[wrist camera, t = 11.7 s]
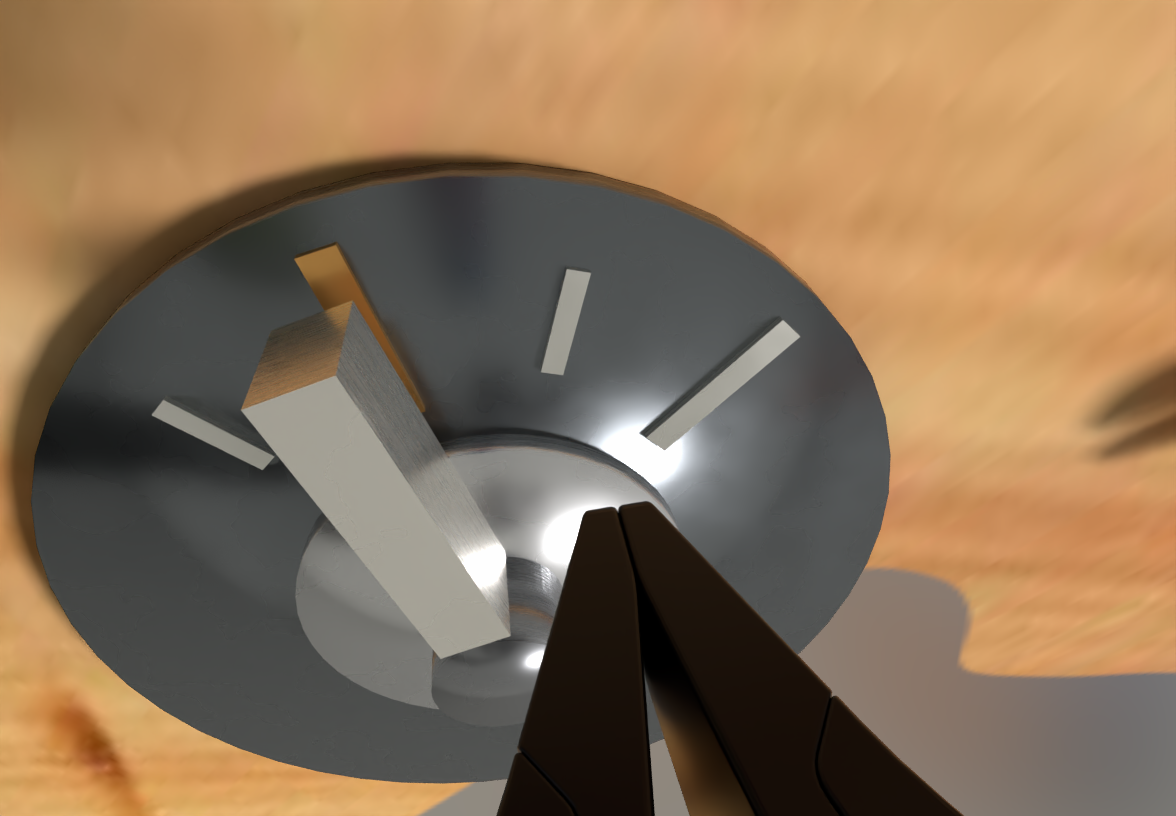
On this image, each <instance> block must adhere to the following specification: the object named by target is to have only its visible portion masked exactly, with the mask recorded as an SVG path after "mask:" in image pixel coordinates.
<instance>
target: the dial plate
mask: <svg viewBox="0 0 1176 816" xmlns="http://www.w3.org/2000/svg"><path fill="white" fill-rule="evenodd" d="M352 300H353V301H354V303H355V305H356V306H357V308H358V310H359V311H360V313H361V314H362V316H363V318H364V319H365V321H366V323H367V324H368V326H369V328H370V329H371V331H372V333H373V334H374V336H375V338H376V339H377V341H378V343H379V344H380V346H381V347H382V349H383V351H384V352H385V354H386V356H387V357H388V359H389V361H390V362H391V364H392V366H393V367H394V369H395V371H396V372H397V374H398V375H399V377H400V379H401V380H402V382H403V384H404V385H405V387H406V389H407V390H408V392H409V394H410V395H411V397H412V399H413V400H414V402H415V403H416V405H417V407H418V408H419V410H420V412H421V413H422V415H423V417H424V418H425V420H426V422H427V423H428V425H429V427H430V428H431V430H432V431H433V433H434V435H435V436H436V438H437V440H438V441H439V442H441V441H446V440H452V439H457V438H463V437H468V436H479V435H491V434H525V435H535V436H543V437H551V438H557V439H561V440H565V441H569V442H574V443H578V444H582V445H584V446H587V447H590V448H592V449H595V450H598V451H601V452H603V453H606V454H607V455H609V456H611V457H613V458H615V459H617V460H619V461H621V462H623V463H625V464H626V465H628V466H629V467H631V468H632V469H633V470H635V471H636V472H638V473H639V474H640V475H642V476H643V477H644V478H645V479H646V480H647V481H648V482H649V483H650V484H651V485H652V486H654V487H655V488H656V489H657V490H658V492H659V493H660V494H661V496H662V497H663V498H664V500H665V501H666V503H667V504H668V505H669V507H670V509H671V511H672V513H673V515H674V517H675V520H676V522H677V525H678V528H679V531H680V533H681V534H682V535H683V536H684V537H685V538H686V539H687V540H688V541H689V542H690V543H691V544H692V545H693V546H694V547H695V548H696V549H697V550H698V551H699V552H700V553H701V555H702V556H703V557H704V558H705V559H706V560H707V561H708V562H709V563H710V564H711V565H712V566H713V567H714V568H715V569H716V570H717V571H718V572H719V573H720V574H721V575H722V576H723V578H724V579H725V580H726V581H727V582H728V583H729V584H730V585H731V586H732V587H733V588H734V589H735V590H736V591H737V592H738V593H739V594H740V595H741V596H742V597H743V598H744V599H745V600H746V602H747V603H748V604H749V605H750V606H751V607H752V608H753V609H754V610H755V611H756V612H757V613H758V614H759V615H760V616H761V617H762V618H763V619H764V620H765V621H766V622H767V623H768V625H769V626H770V627H771V628H772V629H773V630H774V631H775V632H776V633H777V634H778V635H779V636H780V637H781V638H782V639H783V640H784V641H785V642H786V643H787V644H788V645H789V646H790V647H791V649H792V650H793V651H794V652H795V653H796V654H797V655H798V654H799V653H800V652H801V651H802V650H803V649H804V648H805V647H806V646H807V645H808V644H809V643H810V642H811V641H812V639H814V638H815V636H816V635H817V634H818V633H819V632H820V631H821V630H822V629H823V628H824V627H825V626H826V625H827V624H828V622H829V621H830V620H831V618H832V617H833V615H834V614H835V613H836V611H837V610H838V609H839V607H840V606H841V605H842V603H843V602H844V601H845V599H846V598H847V597H848V595H849V594H850V592H851V590H852V589H853V587H854V585H855V583H856V582H857V580H858V578H859V576H860V575H861V573H862V571H863V569H864V568H865V566H866V564H867V562H868V559H869V557H870V554H871V552H872V549H873V547H874V544H875V542H876V539H877V537H878V534H879V532H880V529H881V524H882V520H883V516H884V511H885V507H886V502H887V498H888V493H889V475H890V448H889V440H888V433H887V425H886V417H885V414H884V411H883V408H882V405H881V402H880V398H879V395H878V392H877V389H876V386H875V383H874V380H873V377H872V375H871V373H870V372H869V370H868V368H867V366H866V364H865V363H864V361H863V359H862V357H861V355H860V354H859V352H858V350H857V348H856V346H855V345H854V343H853V341H852V339H851V337H850V336H849V335H848V333H847V332H846V331H845V330H844V328H843V327H842V326H841V325H840V323H839V322H838V321H837V320H836V318H835V317H834V316H833V315H832V314H831V312H830V311H829V310H828V309H827V307H826V306H825V305H824V304H823V303H822V301H821V300H820V299H819V298H818V297H817V295H816V294H815V293H814V292H813V290H812V289H811V288H810V287H809V286H808V284H807V283H806V282H805V281H804V280H803V279H802V278H801V277H799V276H798V275H797V274H796V273H795V272H794V271H792V270H791V269H790V268H789V267H788V266H787V265H786V264H784V263H783V262H782V261H781V260H780V259H779V258H777V257H776V256H775V255H774V254H773V253H772V252H771V251H769V250H768V249H767V248H766V247H765V246H763V245H761V244H760V243H758V242H757V241H755V240H753V239H752V238H750V237H749V236H747V235H745V234H744V233H742V232H741V231H739V230H737V229H736V228H734V227H732V226H731V225H729V224H728V223H726V222H724V221H723V220H721V219H720V218H718V217H716V216H714V215H712V214H710V213H707V212H705V211H703V210H700V209H698V208H696V207H693V206H691V205H689V204H687V203H684V202H682V201H680V200H677V199H675V198H673V197H670V196H668V195H666V194H663V193H661V192H659V191H656V190H652V189H648V188H645V187H641V186H637V185H634V184H630V183H626V182H623V181H619V180H616V179H612V178H608V177H605V176H601V175H597V174H594V173H588V172H580V171H573V170H565V169H558V168H551V167H543V166H536V165H528V164H505V163H446V164H438V165H430V166H422V167H414V168H406V169H398V170H390V171H382V172H374V173H370V174H366V175H362V176H358V177H355V178H351V179H347V180H343V181H339V182H336V183H332V184H328V185H324V186H320V187H317V188H313V189H309V190H305V191H301V192H299V193H297V194H294V195H292V196H289V197H287V198H285V199H282V200H280V201H277V202H275V203H273V204H270V205H268V206H265V207H263V208H261V209H258V210H256V211H253V212H251V213H249V214H246V215H244V216H241V217H239V218H237V219H235V220H233V221H231V222H230V223H228V224H226V225H225V226H223V227H221V228H220V229H218V230H216V231H215V232H213V233H211V234H210V235H208V236H206V237H205V238H203V239H201V240H200V241H198V242H196V243H195V244H193V245H191V246H190V247H188V248H186V249H185V250H183V251H181V252H180V253H178V254H177V255H176V256H174V257H173V258H172V259H171V260H170V261H168V262H167V263H166V264H165V265H164V266H163V267H161V268H160V269H159V270H158V271H157V272H155V273H154V274H153V275H152V276H151V277H150V278H148V279H147V280H146V281H145V282H144V283H142V284H141V285H140V286H139V287H138V288H136V289H135V290H134V291H133V292H132V293H131V294H129V296H128V297H127V298H126V299H125V300H124V302H123V303H122V304H121V305H120V306H119V308H118V309H117V310H116V311H115V312H114V313H113V315H112V316H111V317H110V318H109V319H108V321H107V322H106V323H105V324H104V325H103V327H102V328H101V329H100V330H99V331H98V333H97V334H96V335H95V336H94V337H93V339H92V340H91V341H90V343H89V344H88V345H87V347H86V348H85V349H84V351H83V352H82V353H81V355H80V356H79V358H78V359H77V360H76V362H75V364H74V366H73V367H72V369H71V371H70V373H69V375H68V376H67V378H66V380H65V382H64V384H63V385H62V387H61V389H60V391H59V393H58V394H57V396H56V398H55V400H54V402H53V403H52V405H51V407H50V409H49V413H48V416H47V419H46V422H45V426H44V429H43V432H42V435H41V438H40V442H39V445H38V448H37V451H36V455H35V463H34V474H33V486H32V497H31V505H32V513H33V521H34V529H35V537H36V545H37V548H38V551H39V554H40V557H41V560H42V563H43V566H44V569H45V572H46V575H47V578H48V581H49V584H50V587H51V588H52V590H53V592H54V594H55V596H56V597H57V599H58V601H59V603H60V604H61V606H62V608H63V610H64V612H65V613H66V615H67V617H68V619H69V621H70V622H71V624H72V625H73V626H74V628H75V629H76V630H77V631H78V633H79V634H80V635H81V636H82V638H83V639H84V640H85V641H86V643H87V644H88V645H89V646H90V648H91V649H92V650H93V651H94V653H95V654H96V655H97V656H98V657H99V658H100V659H101V660H102V661H103V662H104V663H105V664H106V665H107V666H108V667H109V668H110V669H111V670H113V671H114V672H115V673H116V674H117V675H118V676H119V677H120V678H121V679H122V680H123V681H124V682H125V683H126V684H128V685H129V686H130V687H131V688H133V689H134V690H136V691H137V692H138V693H140V694H141V695H142V696H144V697H145V698H147V699H148V700H149V701H151V702H152V703H154V704H155V705H156V706H158V707H159V708H160V709H162V710H163V711H165V712H167V713H169V714H170V715H172V716H174V717H176V718H178V719H179V720H181V721H183V722H185V723H186V724H188V725H190V726H192V727H193V728H195V729H197V730H199V731H201V732H203V733H205V734H208V735H210V736H212V737H214V738H217V739H219V740H221V741H223V742H226V743H228V744H230V745H233V746H235V747H237V748H240V749H243V750H246V751H249V752H252V753H255V754H257V755H260V756H263V757H266V758H269V759H272V760H275V761H278V762H282V763H286V764H290V765H294V766H298V767H303V768H307V769H311V770H315V771H319V772H324V773H330V774H336V775H342V776H348V777H354V778H360V779H371V780H382V781H392V782H407V783H462V782H484V781H493V780H502V779H508V776H509V773H510V769H511V766H512V762H513V759H514V756H515V754H516V753H518V750H517V746H518V742H519V739H520V735H521V732H522V728H523V725H524V723H519V724H514V725H507V726H478V725H472V724H468V723H464V722H461V721H458V720H456V719H453V718H452V717H450V716H448V715H446V714H445V713H444V712H442V711H441V710H440V709H433V708H427V707H422V706H417V705H411V704H408V703H404V702H401V701H397V700H393V699H390V698H388V697H385V696H382V695H380V694H377V693H375V692H372V691H370V690H368V689H366V688H364V687H362V686H360V685H358V684H356V683H354V682H353V681H351V680H350V679H348V678H347V677H345V676H344V675H342V674H341V673H339V672H338V671H337V670H336V669H334V668H333V667H332V666H331V665H330V664H329V663H328V662H327V661H325V660H324V659H323V658H322V656H321V655H320V654H319V653H318V652H317V650H316V649H315V648H314V647H313V646H312V644H311V642H310V641H309V639H308V637H307V635H306V634H305V632H304V630H303V628H302V625H301V622H300V619H299V616H298V613H297V605H296V597H295V594H296V582H297V575H298V570H299V566H300V561H301V557H302V553H303V550H304V546H305V543H306V539H307V537H308V535H309V533H310V532H311V530H312V528H313V526H314V524H315V522H316V520H317V519H318V518H319V516H320V515H321V514H322V510H321V509H320V508H319V507H318V506H317V504H316V503H315V502H314V501H313V499H312V498H311V497H310V496H309V494H308V493H307V492H306V491H305V489H304V488H303V487H302V486H301V484H300V483H299V482H298V481H297V479H296V478H295V477H294V476H293V474H292V473H291V472H290V471H289V469H288V468H287V467H286V466H285V464H284V463H283V462H282V461H281V459H280V458H279V457H278V456H277V454H276V453H275V452H274V451H273V449H272V448H271V447H270V446H269V444H268V443H267V442H266V441H265V439H264V438H263V437H262V436H261V434H260V433H259V432H258V431H257V429H256V428H255V427H254V426H253V424H252V423H251V422H250V421H249V419H248V418H247V417H246V416H245V415H244V413H243V412H242V411H241V409H242V406H243V403H244V401H245V398H246V395H247V393H248V390H249V388H250V385H251V382H252V380H253V377H254V374H255V372H256V369H257V367H258V364H259V361H260V359H261V356H262V353H263V351H264V348H265V346H266V343H267V340H268V338H269V335H270V332H271V330H274V329H276V328H279V327H282V326H285V325H287V324H290V323H293V322H295V321H298V320H301V319H303V318H306V317H309V316H311V315H314V314H317V313H319V312H322V311H325V310H327V309H330V308H333V307H336V306H338V305H341V304H344V303H346V302H349V301H352ZM645 687H646V701H647V715H648V729H649V743H650V744H652V743H654V742H657V741H659V740H662V739H664V736H663V733H662V730H661V726H660V723H659V720H658V717H657V714H656V711H655V708H654V705H653V702H652V699H651V696H650V692H649V689H648V686H647V682H646V679H645Z"/></svg>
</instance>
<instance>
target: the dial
mask: <svg viewBox="0 0 1176 816" xmlns="http://www.w3.org/2000/svg"><path fill="white" fill-rule="evenodd" d="M241 411H242V412H243V413H244V415H245V416H246V417H247V418H248V419H249V421H250V422H251V423H252V424H253V426H254V427H255V428H256V429H257V431H258V432H259V433H260V434H261V436H262V437H263V438H264V439H265V441H266V442H267V443H268V444H269V446H270V447H271V448H272V449H273V451H274V452H275V453H276V454H277V456H278V457H279V458H280V459H281V461H282V462H283V463H284V464H285V466H286V467H287V468H288V469H289V471H290V472H291V473H292V474H293V476H294V477H295V478H296V479H297V481H298V482H299V483H300V484H301V486H302V487H303V488H304V489H305V491H306V492H307V493H308V494H309V496H310V497H311V498H312V499H313V501H314V502H315V503H316V504H317V506H318V507H319V508H320V509H321V510H322V514H321V515H320V516H319V518H318V519H317V520H316V522H315V524H314V526H313V528H312V530H311V532H310V533H309V535H308V537H307V539H306V543H305V546H304V550H303V553H302V557H301V561H300V566H299V570H298V575H297V582H296V594H295V597H296V605H297V613H298V616H299V619H300V622H301V625H302V628H303V630H304V632H305V634H306V635H307V637H308V639H309V641H310V642H311V644H312V646H313V647H314V648H315V649H316V650H317V652H318V653H319V654H320V655H321V656H322V658H323V659H324V660H325V661H327V662H328V663H329V664H330V665H331V666H332V667H333V668H334V669H336V670H337V671H338V672H339V673H341V674H342V675H344V676H345V677H347V678H348V679H350V680H351V681H353V682H354V683H356V684H358V685H360V686H362V687H364V688H366V689H368V690H370V691H372V692H375V693H377V694H380V695H382V696H385V697H388V698H390V699H393V700H397V701H401V702H404V703H408V704H411V705H417V706H422V707H427V708H433V709H440V710H441V711H442V712H444V713H445V714H446V715H448V716H450V717H452V718H453V719H456V720H458V721H461V722H464V723H468V724H472V725H478V726H507V725H514V724H519V723H524V721H525V718H526V714H527V710H528V707H529V703H530V700H531V696H532V693H533V689H534V686H535V682H536V679H537V675H538V671H539V668H540V664H541V661H542V657H543V654H544V650H545V647H546V643H547V640H548V636H549V632H550V629H551V625H552V622H553V618H554V615H555V611H556V608H557V604H558V601H559V597H560V593H561V590H562V586H563V583H564V579H565V576H566V572H567V569H568V565H569V562H570V558H571V554H572V551H573V547H574V544H575V540H576V537H577V533H578V530H579V526H580V523H581V519H582V516H583V514H584V513H585V512H586V511H587V510H593V509H599V508H605V507H615V508H616V509H617V511H618V508H619V507H620V506H621V505H623V504H630V503H636V502H642V501H648V502H651V503H652V504H653V505H654V506H656V508H657V509H658V510H659V511H660V512H661V513H662V514H663V515H664V516H665V517H666V518H667V519H668V520H669V521H670V522H671V523H672V524H673V525H674V526H675V527H676V528H677V529H678V531H679V528H678V525H677V522H676V520H675V517H674V515H673V513H672V511H671V509H670V507H669V505H668V504H667V503H666V501H665V500H664V498H663V497H662V496H661V494H660V493H659V492H658V490H657V489H656V488H655V487H654V486H652V485H651V484H650V483H649V482H648V481H647V480H646V479H645V478H644V477H643V476H642V475H640V474H639V473H638V472H636V471H635V470H633V469H632V468H631V467H629V466H628V465H626V464H625V463H623V462H621V461H619V460H617V459H615V458H613V457H611V456H609V455H607V454H606V453H603V452H601V451H598V450H595V449H592V448H590V447H587V446H584V445H582V444H578V443H574V442H569V441H565V440H561V439H557V438H551V437H543V436H535V435H525V434H491V435H479V436H468V437H463V438H457V439H452V440H446V441H441V442H439V441H438V440H437V438H436V436H435V435H434V433H433V431H432V430H431V428H430V427H429V425H428V423H427V422H426V420H425V418H424V417H423V415H422V413H421V412H420V410H419V408H418V407H417V405H416V403H415V402H414V400H413V399H412V397H411V395H410V394H409V392H408V390H407V389H406V387H405V385H404V384H403V382H402V380H401V379H400V377H399V375H398V374H397V372H396V371H395V369H394V367H393V366H392V364H391V362H390V361H389V359H388V357H387V356H386V354H385V352H384V351H383V349H382V347H381V346H380V344H379V343H378V341H377V339H376V338H375V336H374V334H373V333H372V331H371V329H370V328H369V326H368V324H367V323H366V321H365V319H364V318H363V316H362V314H361V313H360V311H359V310H358V308H357V306H356V305H355V303H354V301H353V300H352V301H349V302H346V303H344V304H341V305H338V306H336V307H333V308H330V309H327V310H325V311H322V312H319V313H317V314H314V315H311V316H309V317H306V318H303V319H301V320H298V321H295V322H293V323H290V324H287V325H285V326H282V327H279V328H276V329H274V330H271V332H270V335H269V338H268V340H267V343H266V346H265V348H264V351H263V353H262V356H261V359H260V361H259V364H258V367H257V369H256V372H255V374H254V377H253V380H252V382H251V385H250V388H249V390H248V393H247V395H246V398H245V401H244V403H243V406H242V409H241ZM679 532H680V531H679Z"/></svg>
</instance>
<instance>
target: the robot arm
mask: <svg viewBox="0 0 1176 816" xmlns="http://www.w3.org/2000/svg"><path fill="white" fill-rule="evenodd" d="M645 679H646V682H647V686H648V689H649V692H650V696H651V699H652V702H653V705H654V708H655V711H656V714H657V717H658V720H659V723H660V726H661V730H662V733H663V736H664V739H665V741H666V745H667V748H668V751H669V754H670V757H671V760H672V763H673V766H674V769H675V772H676V775H677V779H678V782H679V784H680V788H681V791H682V794H683V797H684V800H685V803H686V806H687V809H688V812H689V815H690V816H964V815H962V814H961V813H960V812H959V811H958V810H957V809H955V808H954V807H953V806H952V805H951V804H950V803H948V802H947V801H946V800H945V799H944V798H943V797H942V796H940V795H939V794H938V793H937V792H936V791H935V790H934V789H933V788H931V787H930V786H929V785H928V784H927V783H926V782H925V781H924V780H922V779H921V778H920V777H919V776H918V775H917V774H916V773H915V772H913V771H912V770H911V769H910V768H909V767H908V766H907V765H906V764H904V763H903V762H902V761H901V760H900V759H899V758H898V757H897V756H896V755H895V754H894V753H893V752H892V751H891V750H890V749H889V748H888V747H887V746H886V745H885V744H884V743H883V742H881V740H880V739H879V738H878V737H877V736H876V735H875V734H874V733H873V732H872V731H871V730H870V729H869V728H868V727H867V726H866V725H865V724H863V722H862V721H861V720H860V719H859V718H858V717H857V716H856V715H855V714H854V713H853V712H852V711H851V710H850V709H849V708H848V707H847V706H846V705H845V703H844V702H843V701H842V700H841V699H839V697H837V696H833V697H832V691H831V689H830V688H829V687H828V686H827V685H826V684H825V683H824V682H823V681H822V680H821V679H820V678H819V677H818V676H817V675H816V674H815V673H814V672H813V670H812V669H810V667H809V666H808V665H807V664H806V663H805V662H804V661H803V660H802V659H801V658H800V657H799V656H798V655H797V654H796V653H795V652H794V651H793V650H792V649H791V647H790V646H789V645H788V644H787V643H786V642H785V641H784V640H783V639H782V638H781V637H780V636H779V635H778V634H777V633H776V632H775V631H774V630H773V629H772V628H771V627H770V626H769V625H768V623H767V622H766V621H765V620H764V619H763V618H762V617H761V616H760V615H759V614H758V613H757V612H756V611H755V610H754V609H753V608H752V607H751V606H750V605H749V604H748V603H747V602H746V600H745V599H744V598H743V597H742V596H741V595H740V594H739V593H738V592H737V591H736V590H735V589H734V588H733V587H732V586H731V585H730V584H729V583H728V582H727V581H726V580H725V579H724V578H723V576H722V575H721V574H720V573H719V572H718V571H717V570H716V569H715V568H714V567H713V566H712V565H711V564H710V563H709V562H708V561H707V560H706V559H705V558H704V557H703V556H702V555H701V553H700V552H699V551H698V550H697V549H696V548H695V547H694V546H693V545H692V544H691V543H690V542H689V541H688V540H687V539H686V538H685V537H684V536H683V535H682V534H681V533H680V532H679V531H678V529H677V528H676V527H675V526H674V525H673V524H672V523H671V522H670V521H669V520H668V519H667V518H666V517H665V516H664V515H663V514H662V513H661V512H660V511H659V510H658V509H657V508H656V506H654V505H653V504H652V503H651V502H648V501H642V502H636V503H630V504H623V505H621V506H620V507H619V508H618V511H617V509H616V508H615V507H605V508H599V509H593V510H587V511H586V512H585V513H584V514H583V516H582V519H581V523H580V526H579V530H578V533H577V537H576V540H575V544H574V547H573V551H572V554H571V558H570V562H569V565H568V569H567V572H566V576H565V579H564V583H563V586H562V590H561V593H560V597H559V601H558V604H557V608H556V611H555V615H554V618H553V622H552V625H551V629H550V632H549V636H548V640H547V643H546V647H545V650H544V654H543V657H542V661H541V664H540V668H539V671H538V675H537V679H536V682H535V686H534V689H533V693H532V696H531V700H530V703H529V707H528V710H527V714H526V718H525V721H524V725H523V728H522V732H521V735H520V739H519V742H518V746H517V750H518V753H516V754H515V756H514V759H513V762H512V766H511V769H510V773H509V776H508V780H507V783H506V787H505V790H504V793H503V796H502V800H501V803H500V806H499V809H498V812H497V816H655V813H654V799H653V785H652V771H651V758H650V743H649V729H648V715H647V701H646V687H645ZM831 697H832V698H831Z"/></svg>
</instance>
